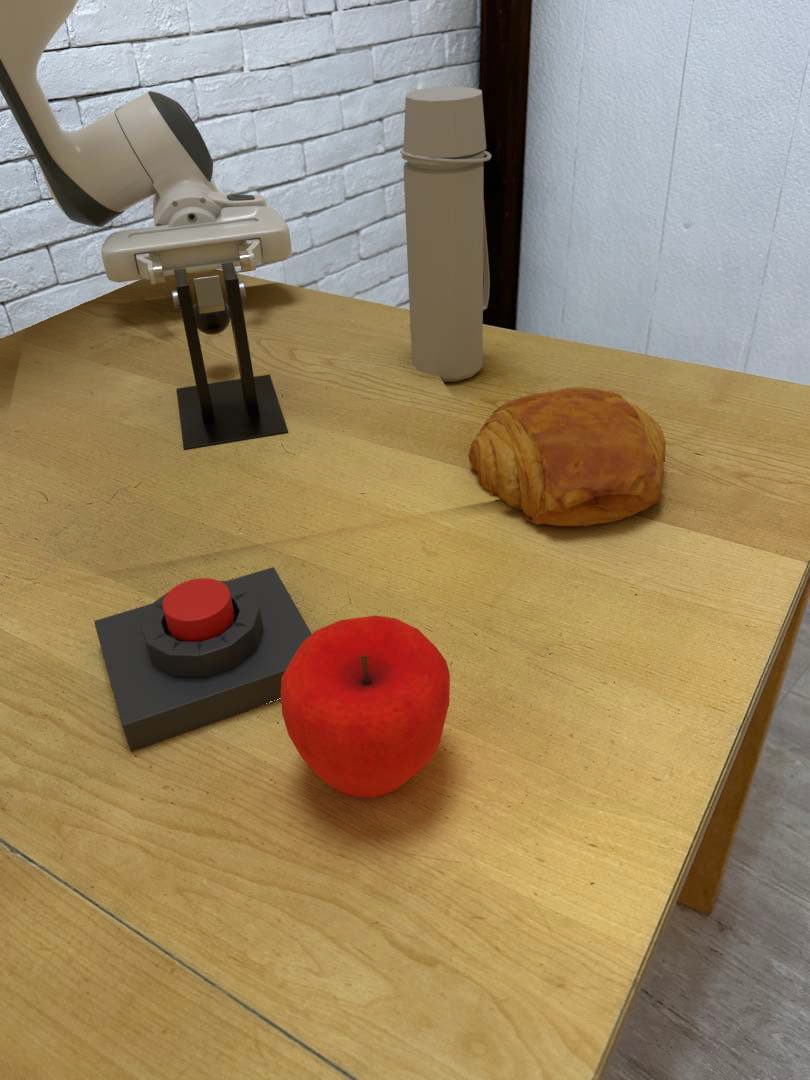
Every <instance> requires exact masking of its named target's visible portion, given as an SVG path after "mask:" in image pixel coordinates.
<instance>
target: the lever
mask: <svg viewBox="0 0 810 1080" xmlns="http://www.w3.org/2000/svg"><path fill="white" fill-rule="evenodd" d="M192 281H193V288H194V293H195V299H196V301H195V303H194V304H193V309H194V314H195V319H196V324H197V330H198V331H199V332H200V333H203V334H206V335H211V336H213V335H214V336H215V335H218V334H221V333H222V332H225V330H227V328H228V327H229V324H230V323H231V319H230V313H229V307H228V303H226V302H225V298H224V297H225V296H224V292H223V287H222V281H221V276H220V275H212V276H205V277H196V278H193V279H192Z"/></svg>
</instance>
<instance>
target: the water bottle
mask: <svg viewBox="0 0 810 1080" xmlns="http://www.w3.org/2000/svg"><path fill="white" fill-rule="evenodd" d="M483 101H484V100H483V91H482V89H479V88H475V87H470V86H457V85H456V86H455V85H453V86H434V87H433V86H432V87H427V88H419V89H415V90H412V91H409V92H407V93H406V94H405V102H404V103H405V107H404V125H403V127H404V128H403V147H402V149H400V151H399V153H400V154H401V160H404V161H406V162H404V164H403V189H404V211H405V213H404V214H405V232H406V233H405V234H406V255H407V279H408V280H407V281H408V301H409V323H410V324H409V325H410V326H409V327H410V349H411V365H412V366H413V367H415V368H416V369H417V370H418V371H419V372H422V373H426V374H430V375H434V376H438V377H439V378H440V380H441V381H442V382H444V383H455V382H459V381H462V380H467V379H470V378H472V377H474V376H475V375H476V374H477V373H478V372H480V371H481V369H482V368H483V364H484V363H483V360H484V359H483V357H484V356H483V355H484V354H483V350H484V349H483V347H484V346H483V345H484V342H483V340H484V338H483V337H484V334H483V333H484V332H483V331H484V311H485V310H486V309H488V306H489V300H490V290H491V289H490V288H491V278H490V276H491V275H490V263H489V249H488V240H487V239H488V237H487V226H486V212H485V200H484V199H485V198H484V167H485V166H484V162H488V161H490V160H491V158H492V154H491V153H490V151H486V150H487V140H486V125H485V114H484V103H483Z"/></svg>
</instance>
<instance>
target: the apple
mask: <svg viewBox="0 0 810 1080" xmlns="http://www.w3.org/2000/svg"><path fill="white" fill-rule="evenodd" d="M450 674H451V673H450V670H449V665H448V662H447V659H445V657H444V655H443V654H442V652H441V651H440V650H439V649H438V647H437V646H436V645H435V644H434V643H433V642H432V641H431V640H430V639H429V638H428V637H427V636H426V635H425V634H424V633H423V632H422V631H421V630H420V629H418V628H417V627H415V626H412V625H411V624H408V623H406V622H404V621H402V620H401V619H398V618H395V617H390V616H382V615H369V616H368V615H367V616H361V617H354V618H346V619H340V620H337V621H335V622H333V623H331V624H328V625H326V626H323V627H321V628H319V629H316V630H314V631H313V632H312V634H311V635H310V636H309V637H308V638H307V639H306V640H305V641H304V642H303V643H302V644H301V645H300V647H299V649H298V650H297V652H296V654H295V655H294V657H293V659H292V660H291V662H290V664H289V666H288V667H287V669H286V671H285V672H284V674H283V676H282V679H281V700H280V703H281V705H280V706H281V714H282V718H283V721H284V725H285V727H286V732H287V735H288V737H289V738H290V741H291V743H293V745H294V747H295V749H296V751H297V752H298V754H299V756H300V757H301V758H302V759H303V761H304V762H305V763H306V765H307V766H308V767H309V768H310V769H311V770H312V771H313V773H315V775H316V776H317V777H318V778H319V779H320V780H321V781H322V782H323V783H325V784H326V785H328V786H329V787H331V788H333V789H335V790H337V791H338V792H340V793H342V794H344V795H347V796H348V797H355V798H368V799H375V798H378V797H380V796H384V795H387V794H389V793H392V792H395V791H397V790H398V789H399V788H401V787H402V786H403V785H404V784H405V783H407V782H408V781H409V780H410V779H411V778H413V777H414V776H415V775H416V774H417V773H419V772H420V771H421V770H423V768H425V766H426V765H427V764H428V763H429V762H430V761H431V759H432V758H433V757H434V755H435V753H436V751H437V750H438V747H439V746H440V743H441V739H442V734H443V730H444V727H445V723H446V719H447V715H448V711H449V706H450V698H451V697H450V694H451V693H450V692H451V675H450Z"/></svg>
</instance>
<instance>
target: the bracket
mask: <svg viewBox="0 0 810 1080" xmlns="http://www.w3.org/2000/svg"><path fill="white" fill-rule="evenodd" d="M221 265H222V269H221V270H222V276H223V277H222V278H223V282H224V283H223V284H224V288H225V294H226V295H225V296H226V300H227V306H228V308H229V313H230V325H231V329H232V336H233V342H234V348H235V354H236V359H237V361H236V362H237V366H238V370H239V377H240V378H237V379H231V380H223V381H218V382H211V383H208V376H207V372H206V366H205V362H204V357H203V356H204V355H203V351H202V345H201V341H200V335H199V329H198V328H197V324H196V319H195V314H194V309H193V306H194V304H193V299H192V293H191V289H190V288H191V287H190V283H189V282H190V281H189V278H188V273H187V272H186V268H183V269H176V270H174V274H175V275H174V279H175V280H174V281H175V286H176V290H171V297H172V302H173V306H174V309H180V312H181V317H182V322H183V327H184V332H185V337H186V342H187V347H188V351H189V357H190V362H191V367H192V371H193V377H194V382H195V385H191V386H185V387H177V388H176V396H177V406H178V413H179V423H180V430H181V439H182V448H183V451H189V450H195V449H200V448H208V447H214V446H220V445H224V444H230V443H237V442H243V441H250V440H255V439H261V438H267V437H273V436H281V435H285V434H289V430H288V426H287V423H286V420H285V417H284V414H283V411H282V407H281V405H280V401H279V398H278V395H277V391H276V389H275V386H274V382H273V380H272V377H271V374H263V375H257V376H254V375H255V374H254V369H253V363H252V357H251V351H250V344H249V337H248V332H247V326H246V325H247V324H246V318H245V313H244V306H243V300H246V299H247V292H246V287H245V283H244V281H240V280H239V277H238V274H237V271H236V267H234V264H233V262H230V263H222V264H221Z"/></svg>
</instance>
